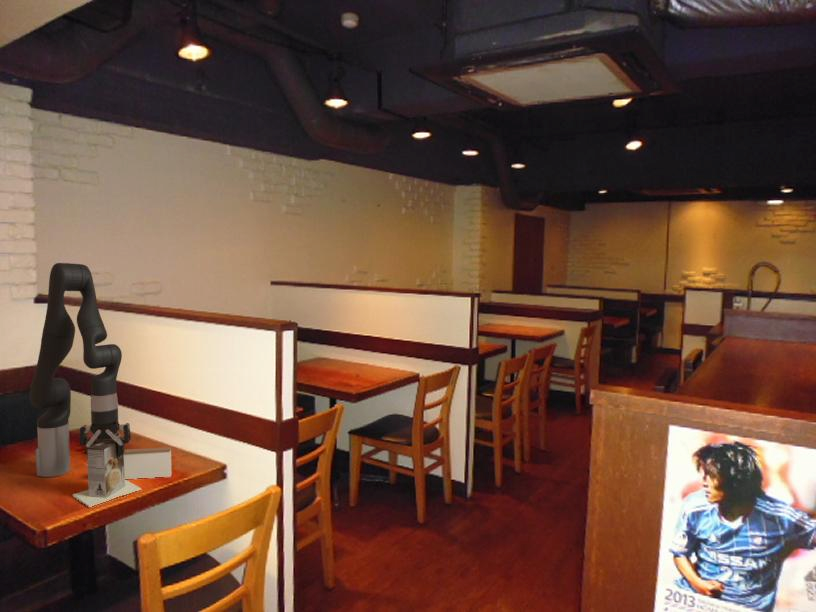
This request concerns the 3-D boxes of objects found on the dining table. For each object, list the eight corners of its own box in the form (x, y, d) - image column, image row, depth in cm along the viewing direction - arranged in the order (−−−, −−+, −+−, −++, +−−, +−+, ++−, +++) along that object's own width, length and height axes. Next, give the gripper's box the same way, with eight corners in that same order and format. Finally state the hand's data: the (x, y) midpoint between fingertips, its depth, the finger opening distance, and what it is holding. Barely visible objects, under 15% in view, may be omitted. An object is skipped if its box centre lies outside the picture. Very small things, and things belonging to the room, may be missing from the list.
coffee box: (107, 484, 183) (106, 437, 181) (125, 486, 182) (124, 438, 180) (87, 496, 173) (86, 447, 172) (106, 498, 173) (104, 448, 171)
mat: (89, 508, 168) (88, 505, 168) (72, 496, 175) (72, 494, 175) (141, 490, 180) (141, 488, 180) (124, 481, 188) (124, 478, 187)
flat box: (100, 482, 186) (99, 453, 186) (103, 479, 189) (101, 450, 188) (170, 477, 191) (169, 449, 190) (171, 474, 194) (170, 446, 193)
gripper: (75, 411, 170) (77, 462, 171) (125, 409, 173) (127, 459, 174) (83, 405, 177) (85, 453, 178) (131, 403, 180) (133, 451, 182)
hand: (106, 456), depth 176 cm, fingers open, 8 cm apart
